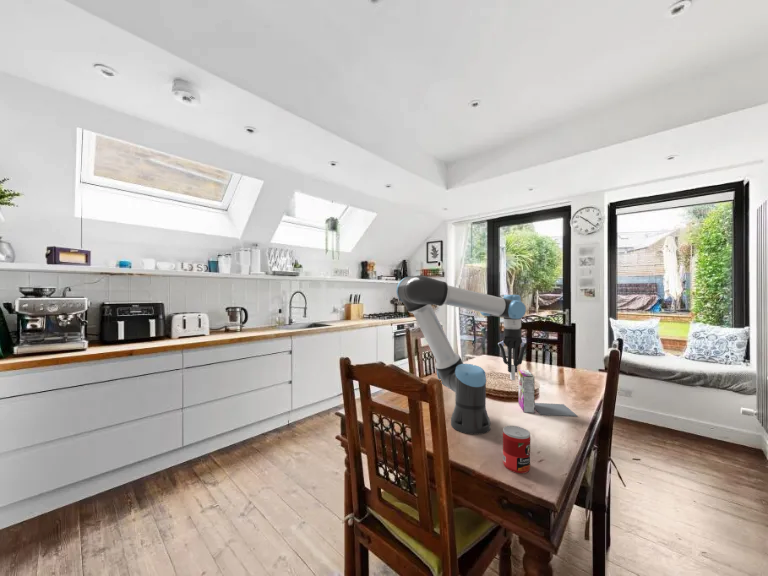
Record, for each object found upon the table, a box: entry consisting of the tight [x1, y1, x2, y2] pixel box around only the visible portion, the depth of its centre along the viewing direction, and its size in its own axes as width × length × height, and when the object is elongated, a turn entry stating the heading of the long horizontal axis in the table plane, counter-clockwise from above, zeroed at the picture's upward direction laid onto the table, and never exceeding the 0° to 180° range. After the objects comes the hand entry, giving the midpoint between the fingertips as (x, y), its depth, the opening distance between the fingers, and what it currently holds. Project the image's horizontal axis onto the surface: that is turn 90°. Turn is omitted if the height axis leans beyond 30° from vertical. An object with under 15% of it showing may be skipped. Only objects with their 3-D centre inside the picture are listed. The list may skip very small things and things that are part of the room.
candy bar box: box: [517, 369, 536, 414], centre depth 147 cm, size 11×5×16 cm, turn 168°
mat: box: [535, 402, 579, 418], centre depth 146 cm, size 15×14×1 cm
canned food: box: [502, 425, 531, 474], centre depth 99 cm, size 8×8×11 cm
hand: (512, 379), depth 148 cm, fingers closed
